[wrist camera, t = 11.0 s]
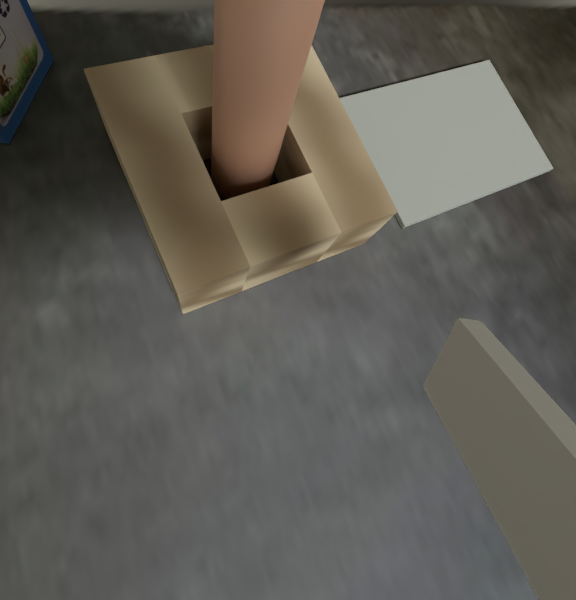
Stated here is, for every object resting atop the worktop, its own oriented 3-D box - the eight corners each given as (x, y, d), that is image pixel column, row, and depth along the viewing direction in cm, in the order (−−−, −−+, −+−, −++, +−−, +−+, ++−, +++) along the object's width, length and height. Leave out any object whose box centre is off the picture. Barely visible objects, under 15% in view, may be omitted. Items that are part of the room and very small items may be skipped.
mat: (485, 64, 31) (489, 59, 30) (548, 171, 29) (553, 168, 29) (336, 102, 27) (338, 98, 26) (401, 228, 25) (404, 226, 25)
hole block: (286, 87, 26) (302, 27, 22) (364, 243, 24) (398, 211, 20) (106, 130, 23) (83, 68, 18) (182, 314, 21) (177, 293, 17)
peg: (253, 158, 24) (309, -130, 11) (275, 204, 24) (362, -36, 10) (202, 173, 23) (195, -122, 10) (224, 222, 23) (247, -19, 9)
